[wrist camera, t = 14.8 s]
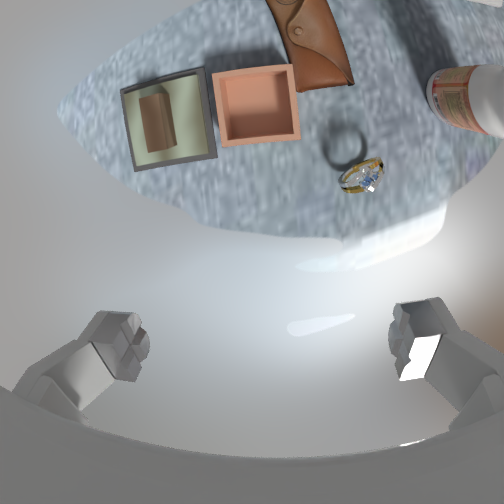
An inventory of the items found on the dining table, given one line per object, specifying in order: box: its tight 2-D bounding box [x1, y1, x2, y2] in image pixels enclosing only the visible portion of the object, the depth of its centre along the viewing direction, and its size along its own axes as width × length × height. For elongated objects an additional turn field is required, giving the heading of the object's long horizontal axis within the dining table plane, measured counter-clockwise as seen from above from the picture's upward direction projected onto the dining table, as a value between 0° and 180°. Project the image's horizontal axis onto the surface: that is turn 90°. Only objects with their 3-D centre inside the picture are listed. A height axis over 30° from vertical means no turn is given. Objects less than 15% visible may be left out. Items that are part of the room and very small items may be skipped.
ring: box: [338, 157, 385, 193], centre depth 35 cm, size 7×3×8 cm, turn 123°
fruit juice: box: [426, 64, 504, 139], centre depth 19 cm, size 9×9×28 cm
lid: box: [124, 75, 210, 166], centre depth 36 cm, size 12×12×5 cm
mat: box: [120, 68, 218, 172], centre depth 38 cm, size 14×14×1 cm
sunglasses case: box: [266, 0, 355, 93], centre depth 29 cm, size 18×7×7 cm
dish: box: [212, 64, 301, 147], centre depth 34 cm, size 10×10×5 cm
